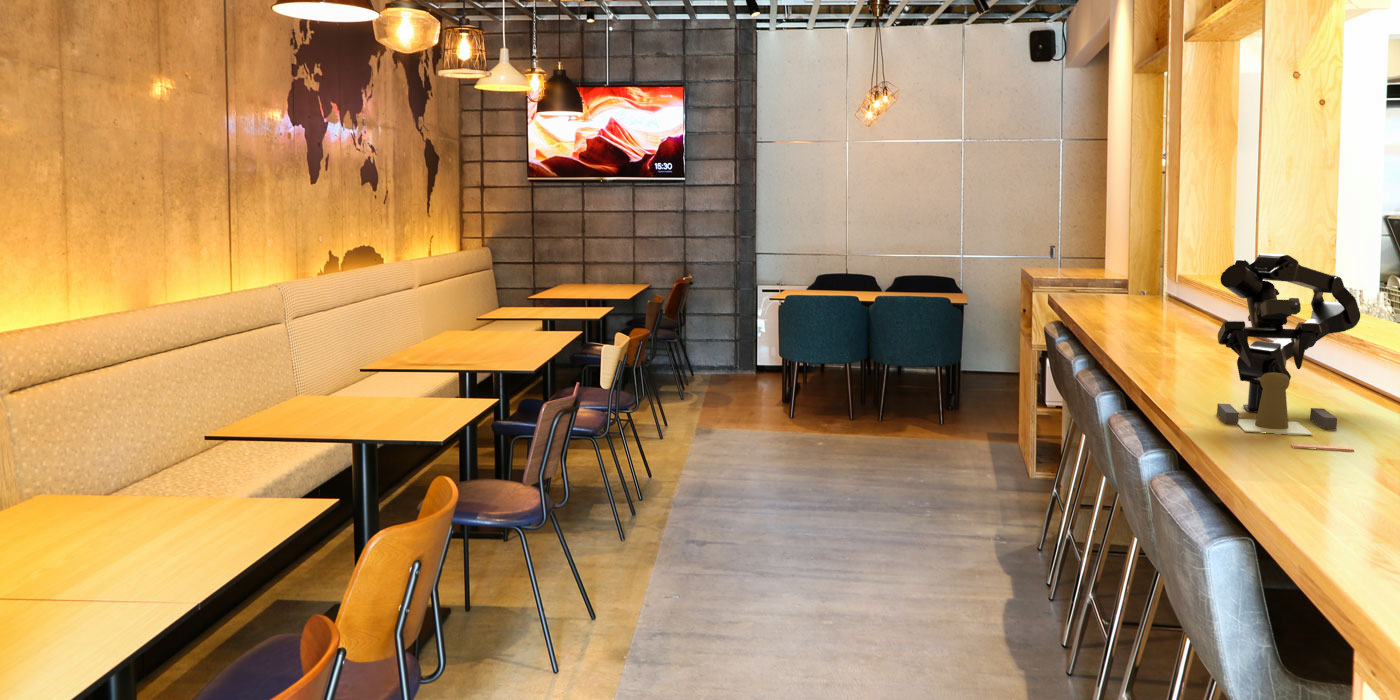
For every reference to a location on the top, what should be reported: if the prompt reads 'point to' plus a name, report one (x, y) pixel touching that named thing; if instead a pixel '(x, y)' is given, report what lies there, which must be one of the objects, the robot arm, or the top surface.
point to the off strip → (1323, 447)
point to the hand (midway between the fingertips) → (1275, 367)
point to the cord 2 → (1323, 418)
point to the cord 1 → (1227, 413)
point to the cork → (1273, 401)
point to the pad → (1292, 429)
